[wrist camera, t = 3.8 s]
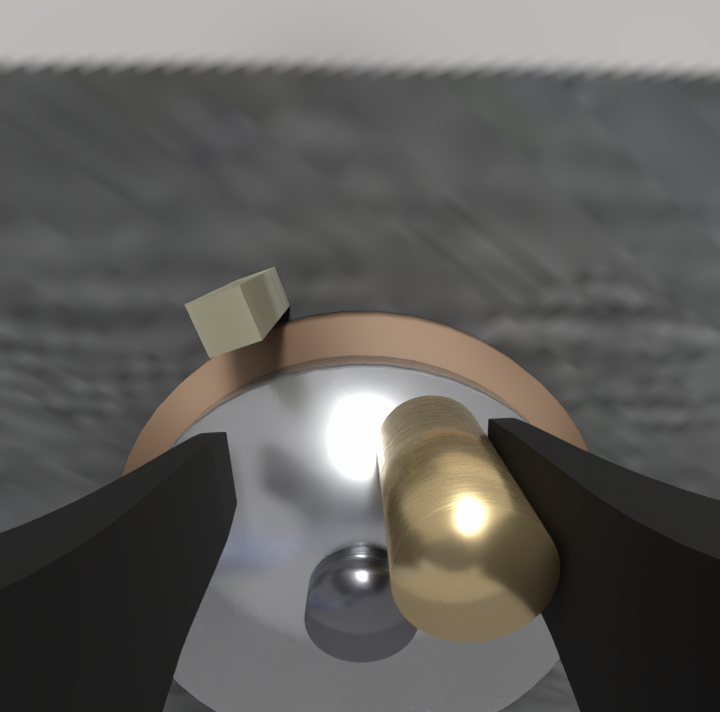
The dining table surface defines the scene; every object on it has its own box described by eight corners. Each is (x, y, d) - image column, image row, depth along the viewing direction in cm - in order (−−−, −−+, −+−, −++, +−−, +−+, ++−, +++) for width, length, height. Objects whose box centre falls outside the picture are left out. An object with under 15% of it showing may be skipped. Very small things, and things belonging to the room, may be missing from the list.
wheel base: (241, 732, 18) (211, 868, 14) (13, 357, 13) (-128, 413, 9) (617, 636, 17) (695, 758, 13) (524, 179, 12) (606, 158, 8)
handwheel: (467, 745, 17) (522, 1001, 11) (106, 658, 15) (-36, 906, 10) (659, 444, 13) (887, 607, 7) (202, 283, 11) (59, 338, 6)
